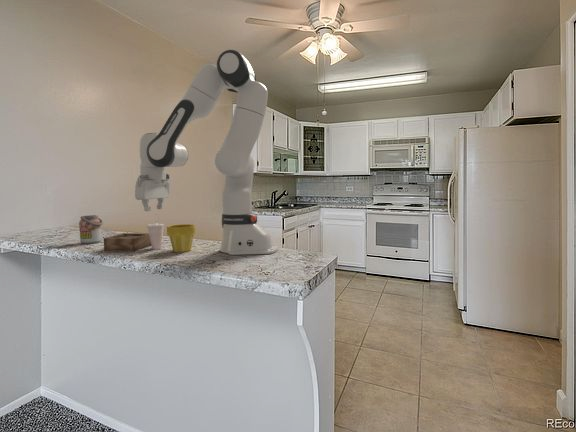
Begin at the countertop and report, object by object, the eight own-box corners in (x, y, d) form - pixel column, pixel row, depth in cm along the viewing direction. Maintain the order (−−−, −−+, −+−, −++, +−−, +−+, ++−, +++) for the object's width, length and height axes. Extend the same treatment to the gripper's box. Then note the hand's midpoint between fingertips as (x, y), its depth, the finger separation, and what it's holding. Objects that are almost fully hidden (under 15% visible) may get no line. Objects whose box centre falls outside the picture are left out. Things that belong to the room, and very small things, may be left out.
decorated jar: (108, 241, 150) (106, 215, 148) (95, 244, 141) (93, 217, 140) (89, 240, 151) (87, 215, 149) (75, 244, 142) (73, 217, 141)
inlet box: (152, 244, 139) (152, 233, 139) (135, 251, 126) (134, 238, 126) (124, 244, 140) (123, 233, 140) (104, 250, 128) (103, 238, 127)
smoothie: (159, 250, 128) (157, 214, 126) (144, 249, 129) (142, 214, 128) (168, 247, 134) (166, 213, 133) (154, 246, 135) (152, 213, 134)
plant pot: (179, 247, 134) (178, 223, 133) (201, 248, 131) (200, 224, 130) (162, 252, 124) (160, 226, 123) (185, 253, 121) (184, 227, 120)
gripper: (146, 174, 118) (147, 212, 119) (172, 175, 138) (172, 208, 140) (129, 174, 119) (131, 212, 120) (157, 175, 139) (158, 207, 140)
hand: (153, 210), depth 130 cm, fingers open, 8 cm apart
